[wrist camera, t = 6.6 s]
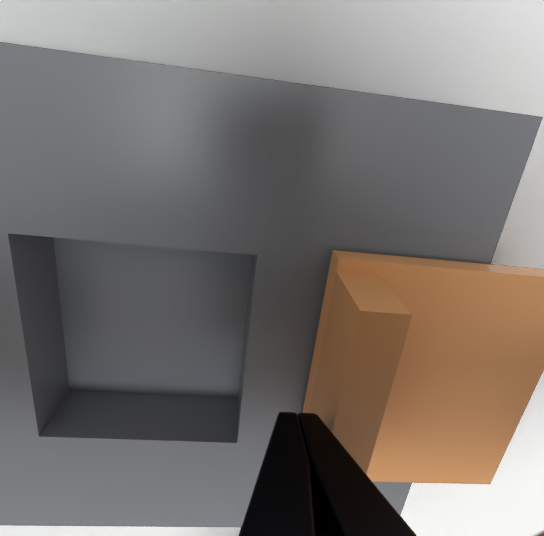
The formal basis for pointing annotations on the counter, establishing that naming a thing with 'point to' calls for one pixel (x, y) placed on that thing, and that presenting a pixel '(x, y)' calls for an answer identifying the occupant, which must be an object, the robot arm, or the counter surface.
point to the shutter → (426, 363)
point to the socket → (199, 266)
